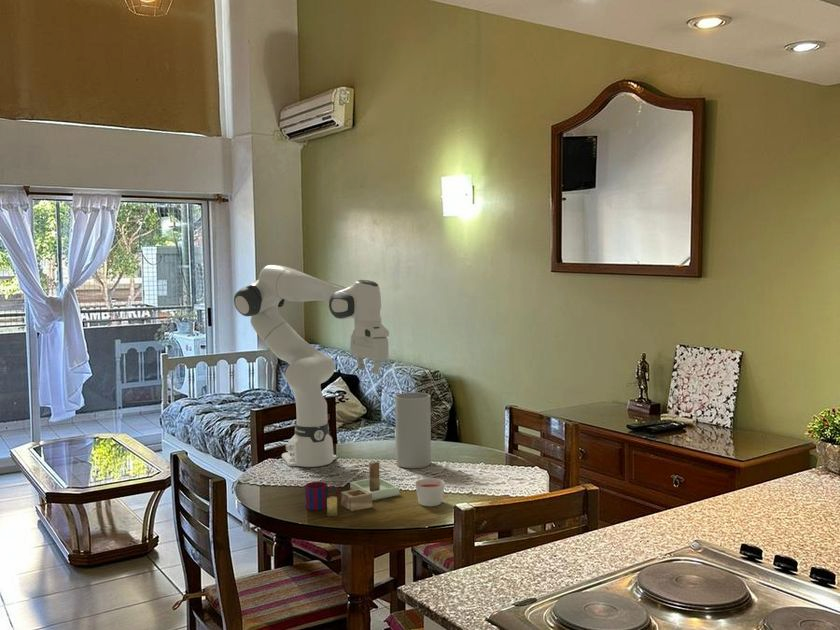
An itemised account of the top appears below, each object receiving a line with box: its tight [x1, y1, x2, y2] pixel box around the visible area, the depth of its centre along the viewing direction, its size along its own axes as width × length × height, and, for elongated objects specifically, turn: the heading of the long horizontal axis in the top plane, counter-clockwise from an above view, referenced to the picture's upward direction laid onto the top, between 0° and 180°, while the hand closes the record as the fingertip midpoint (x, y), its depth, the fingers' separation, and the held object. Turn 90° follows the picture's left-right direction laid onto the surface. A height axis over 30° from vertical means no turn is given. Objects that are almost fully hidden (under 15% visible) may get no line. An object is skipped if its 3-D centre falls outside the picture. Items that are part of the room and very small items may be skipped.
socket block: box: [340, 488, 373, 512], centre depth 232 cm, size 7×7×4 cm
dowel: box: [368, 460, 381, 492], centre depth 245 cm, size 3×3×9 cm
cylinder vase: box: [394, 391, 432, 470], centre depth 276 cm, size 12×12×25 cm
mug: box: [304, 481, 339, 511], centre depth 231 cm, size 7×10×7 cm
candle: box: [414, 477, 446, 507], centre depth 234 cm, size 9×9×6 cm
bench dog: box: [326, 496, 338, 517], centre depth 225 cm, size 3×3×5 cm
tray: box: [349, 476, 400, 501], centre depth 245 cm, size 13×10×2 cm
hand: (368, 371), depth 253 cm, fingers open, 8 cm apart
